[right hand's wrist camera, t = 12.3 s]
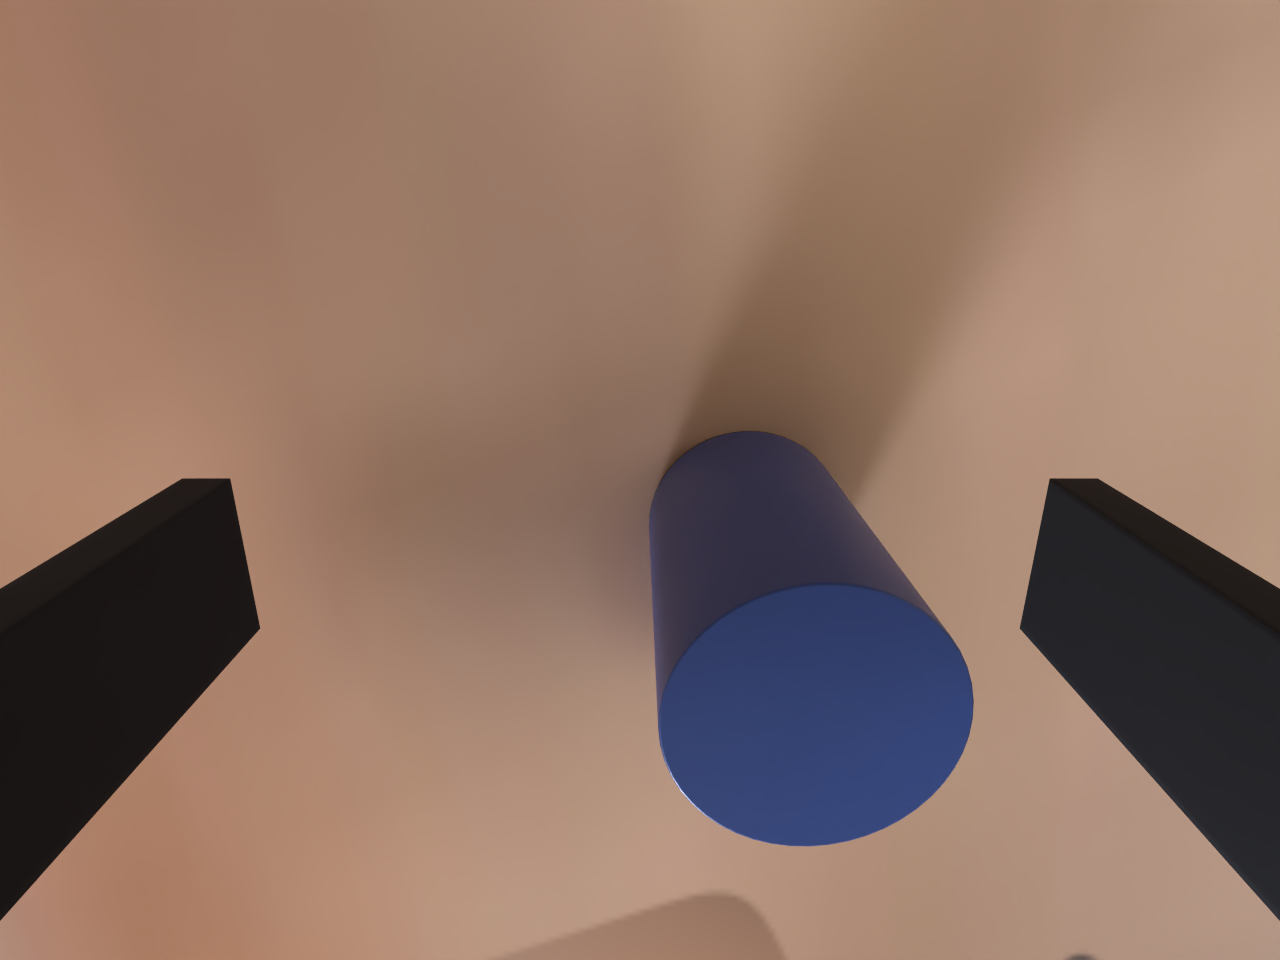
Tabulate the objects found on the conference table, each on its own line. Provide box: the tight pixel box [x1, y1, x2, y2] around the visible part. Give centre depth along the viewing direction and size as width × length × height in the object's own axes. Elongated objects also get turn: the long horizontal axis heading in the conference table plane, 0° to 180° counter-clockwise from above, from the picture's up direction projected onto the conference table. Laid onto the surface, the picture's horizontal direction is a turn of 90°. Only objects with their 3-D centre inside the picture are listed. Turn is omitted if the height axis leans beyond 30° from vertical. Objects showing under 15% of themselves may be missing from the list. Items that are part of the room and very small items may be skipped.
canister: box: [649, 431, 974, 846], centre depth 22 cm, size 7×7×12 cm
